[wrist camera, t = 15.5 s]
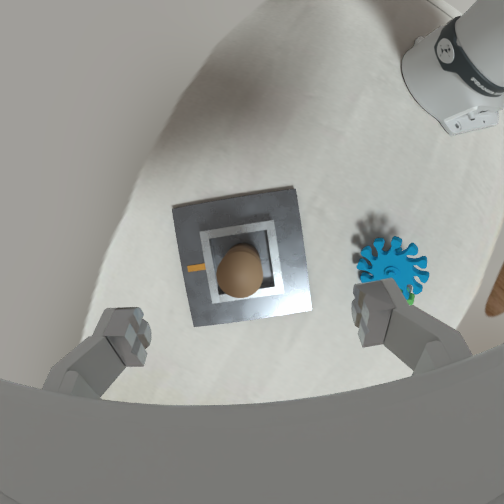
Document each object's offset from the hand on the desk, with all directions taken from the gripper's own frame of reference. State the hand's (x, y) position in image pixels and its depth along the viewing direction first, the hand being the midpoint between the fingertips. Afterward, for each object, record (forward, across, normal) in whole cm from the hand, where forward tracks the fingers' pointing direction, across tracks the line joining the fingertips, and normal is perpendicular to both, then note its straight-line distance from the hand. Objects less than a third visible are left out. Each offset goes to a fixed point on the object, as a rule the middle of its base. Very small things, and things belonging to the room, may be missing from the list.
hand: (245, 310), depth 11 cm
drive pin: (+23, +2, +13) cm, 27 cm away
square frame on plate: (+24, +2, +14) cm, 28 cm away
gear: (+24, -17, +18) cm, 34 cm away
